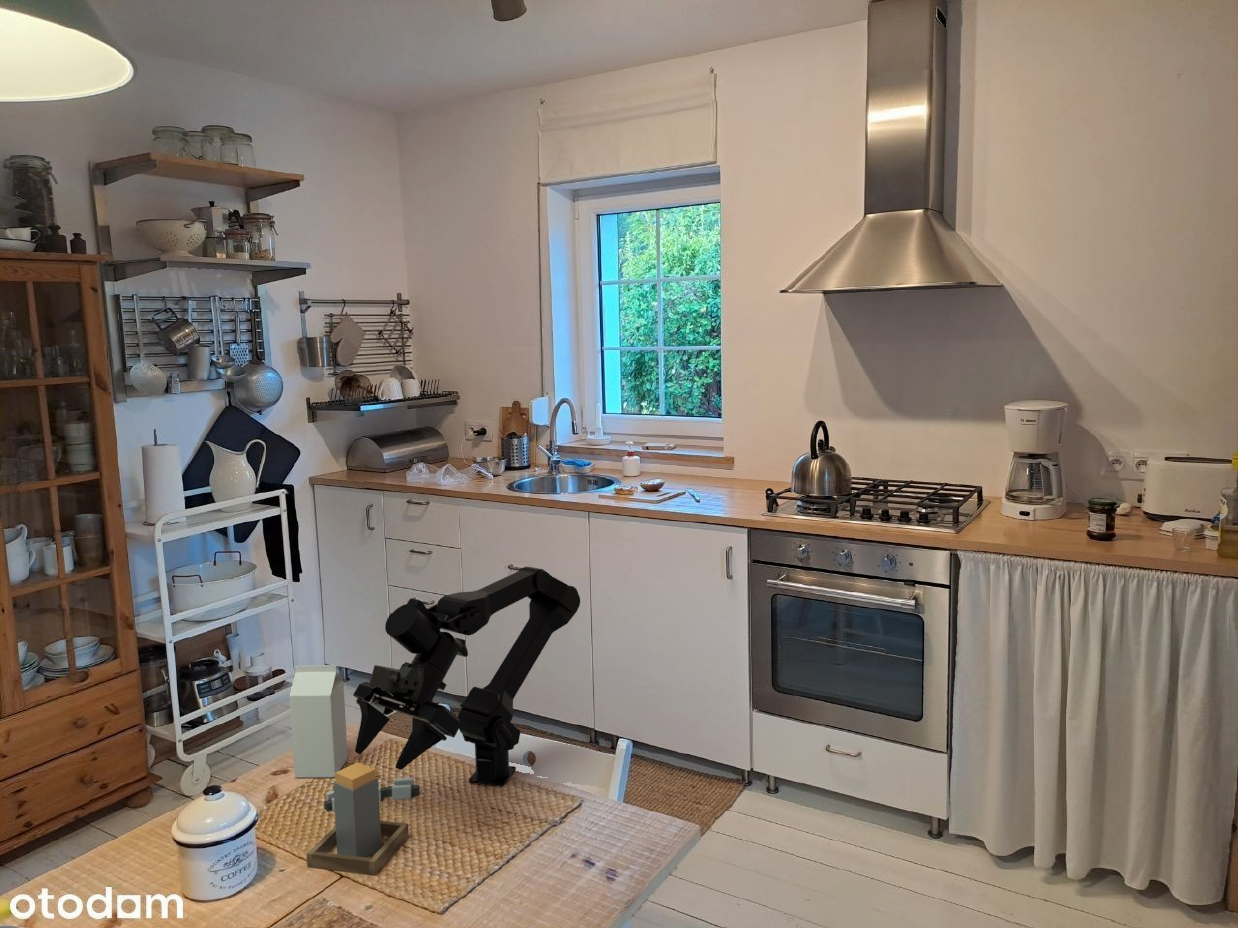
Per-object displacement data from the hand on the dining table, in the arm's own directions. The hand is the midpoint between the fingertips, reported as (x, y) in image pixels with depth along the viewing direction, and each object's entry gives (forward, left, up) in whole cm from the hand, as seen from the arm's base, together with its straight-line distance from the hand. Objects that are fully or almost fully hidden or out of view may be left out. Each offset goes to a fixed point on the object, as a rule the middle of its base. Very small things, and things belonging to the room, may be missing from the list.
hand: (377, 760), depth 134 cm
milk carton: (-19, -22, -13) cm, 32 cm away
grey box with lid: (+4, -2, -12) cm, 13 cm away
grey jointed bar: (-11, -7, -12) cm, 18 cm away
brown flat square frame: (+4, -2, -12) cm, 13 cm away
